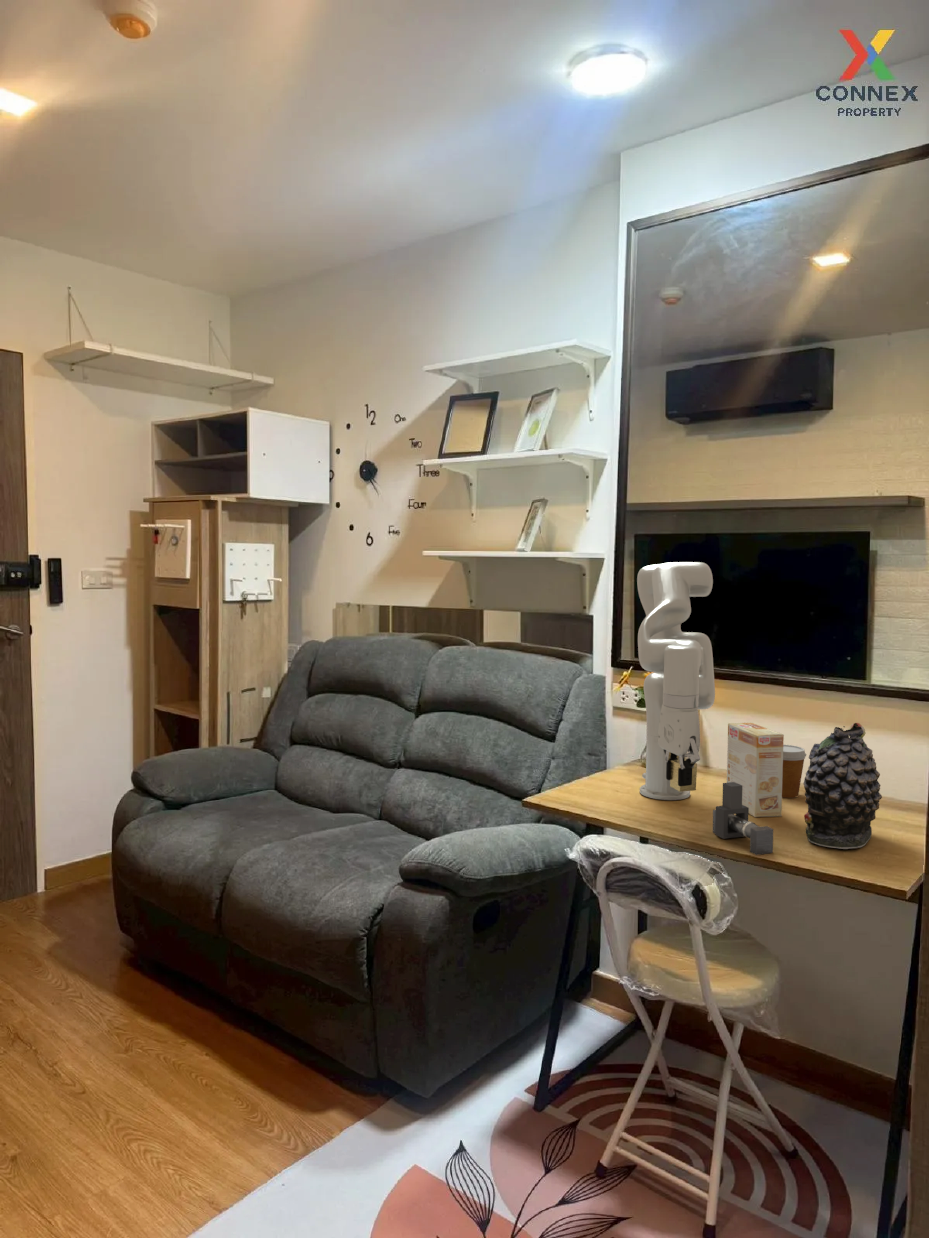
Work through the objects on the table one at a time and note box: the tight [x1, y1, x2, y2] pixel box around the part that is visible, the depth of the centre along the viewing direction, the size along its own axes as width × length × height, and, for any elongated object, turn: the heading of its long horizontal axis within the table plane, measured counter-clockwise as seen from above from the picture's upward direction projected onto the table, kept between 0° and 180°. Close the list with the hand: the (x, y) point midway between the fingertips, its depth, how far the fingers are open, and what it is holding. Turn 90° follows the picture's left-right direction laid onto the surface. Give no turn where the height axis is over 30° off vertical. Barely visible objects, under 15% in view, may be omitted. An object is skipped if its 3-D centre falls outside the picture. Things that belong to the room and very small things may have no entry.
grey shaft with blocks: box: [712, 809, 774, 856], centre depth 176 cm, size 15×4×5 cm, turn 18°
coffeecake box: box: [726, 722, 785, 818], centre depth 200 cm, size 15×7×20 cm, turn 8°
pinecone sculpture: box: [803, 722, 883, 850], centre depth 177 cm, size 21×15×25 cm
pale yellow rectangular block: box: [670, 758, 698, 792], centre depth 183 cm, size 4×4×6 cm
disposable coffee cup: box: [782, 744, 807, 799], centre depth 211 cm, size 10×10×12 cm
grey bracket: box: [714, 782, 749, 840], centre depth 179 cm, size 3×6×11 cm, turn 108°
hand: (678, 781), depth 183 cm, fingers closed on pale yellow rectangular block, 4 cm apart
